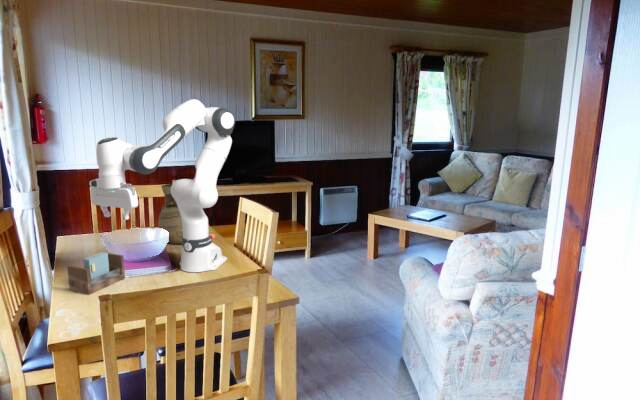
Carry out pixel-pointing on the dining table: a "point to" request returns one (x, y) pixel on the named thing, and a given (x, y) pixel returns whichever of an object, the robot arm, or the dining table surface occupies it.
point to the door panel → (97, 264)
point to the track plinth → (83, 284)
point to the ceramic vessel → (171, 217)
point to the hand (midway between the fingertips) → (116, 217)
